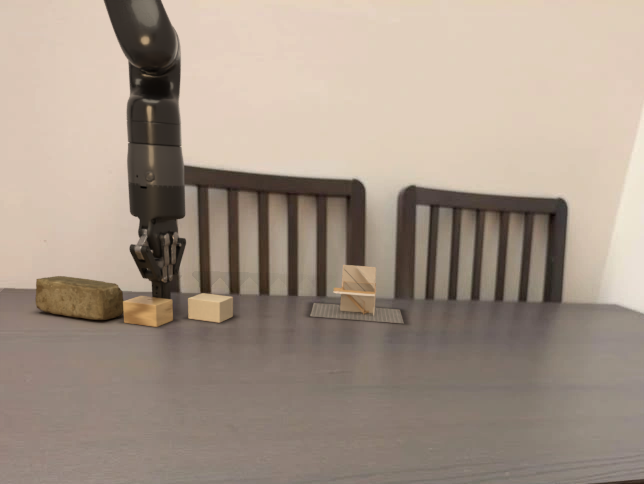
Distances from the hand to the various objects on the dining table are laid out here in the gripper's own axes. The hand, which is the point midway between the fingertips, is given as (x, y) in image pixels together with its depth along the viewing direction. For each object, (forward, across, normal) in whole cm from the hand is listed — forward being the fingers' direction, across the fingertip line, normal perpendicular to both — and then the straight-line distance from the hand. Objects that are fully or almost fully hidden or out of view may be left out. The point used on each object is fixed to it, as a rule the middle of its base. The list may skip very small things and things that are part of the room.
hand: (161, 307), depth 107 cm
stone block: (+1, +6, -10) cm, 11 cm away
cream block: (+1, -3, +6) cm, 7 cm away
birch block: (+1, +4, 0) cm, 4 cm away
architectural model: (+2, -20, +25) cm, 32 cm away
